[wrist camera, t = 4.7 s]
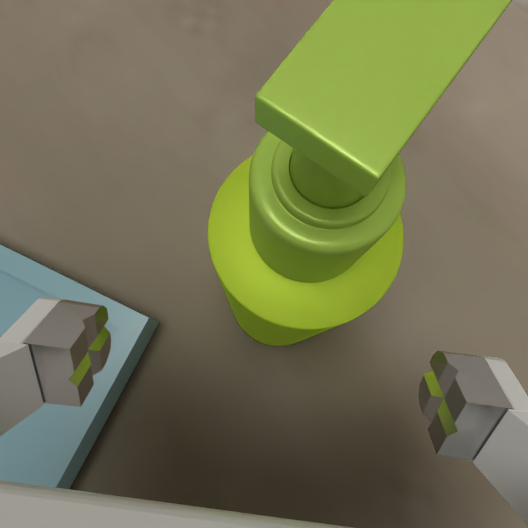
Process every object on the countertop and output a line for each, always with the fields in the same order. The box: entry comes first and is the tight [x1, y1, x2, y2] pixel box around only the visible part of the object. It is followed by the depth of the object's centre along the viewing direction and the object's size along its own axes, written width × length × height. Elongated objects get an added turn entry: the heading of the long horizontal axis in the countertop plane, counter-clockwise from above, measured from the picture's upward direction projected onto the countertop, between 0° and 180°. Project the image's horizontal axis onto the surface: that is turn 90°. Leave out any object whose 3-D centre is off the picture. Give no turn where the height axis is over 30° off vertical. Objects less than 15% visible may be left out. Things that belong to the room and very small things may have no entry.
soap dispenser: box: [208, 0, 512, 346], centre depth 15 cm, size 6×7×20 cm
